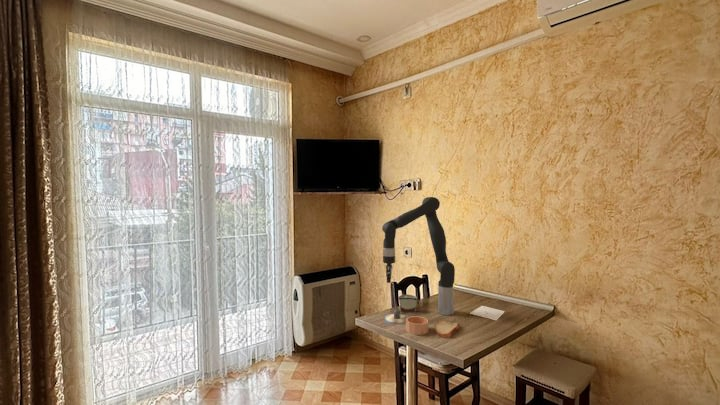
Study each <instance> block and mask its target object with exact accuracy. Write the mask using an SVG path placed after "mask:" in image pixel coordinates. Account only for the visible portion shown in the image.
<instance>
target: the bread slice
mask: <svg viewBox="0 0 720 405" xmlns="http://www.w3.org/2000/svg"><path fill="white" fill-rule="evenodd" d="M459 329H460V324H459V322H452V321H451V322H450V321H448V320H442V321H440V322H438V323H437V324H436V325H435V329H434V330H435V334H436V335H437V336H438V337H439V338H441V339H450V338H451V337H452V336H454V335H455V334H456V333H457V332H458V331H459Z"/></svg>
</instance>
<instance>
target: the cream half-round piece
mask: <svg viewBox="0 0 720 405" xmlns="http://www.w3.org/2000/svg"><path fill="white" fill-rule="evenodd" d="M397 300H399V310H400V313H401V312H404V313H416V310H417V309H416V308H417V302H418V301H419V300H418V297H417V296H416V295H413V294H402V295H399V297H398V299H397Z"/></svg>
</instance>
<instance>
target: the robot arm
mask: <svg viewBox="0 0 720 405" xmlns="http://www.w3.org/2000/svg"><path fill="white" fill-rule="evenodd" d="M440 205H441V202H440V200H439V199H438V198H437V197H434V196H427V197H425V198H424V199H423V200H422V202H421V205H419V206H417V207H415V208H412V209H411V210H408V211H406V212H404V213H401V215H398V216H397V217H394V218H393V219H391V220H388V221H387V222H385V223H383V225H382V227H381V228H382V232H384V238H383V243H382V246H383V248H382V263H384V264H385V274H386V276H385V277H386V283H387V284H390V283H391V281H392V273H393V265H392V264H395V263H396V250H395V249H396V248H395V246H396V245H395V244H396V242H395V240H396V235H397V230H398V229H401V228H403V227H406V226H407V225H409V224H410V223H412V222H413V221H416V220H417V219H419V218H421V217H422V216H425V218H426V222H427V226H428V231H429V237H430V241H431V244H432V249H433V252H434V255H435V262H436V269H437V270H438V272H439V274H440V278H439V280H438V284H437V285H438V286H437V290H438V292H437V295H438V297H437V299H438V300H437V302H438V303H437V306H438V307H437V308H438V309H437V311H438V312H437V313H438V314H440V315H444V316H451V315H454V314H455V313H454V309H455V307H454V306H455V305H454V304H455V303H454V284H455V276H456V275H455V274H456V268H455V265H454V264H453V263H452V262H450V261H449V259H448V258H449V257H448V254H447V250H446V249H447V237H446V233H445V229H444V227H443V226H442V223H441V222H440V220H439V218H438V215H437V210H438V209H439V208H440Z"/></svg>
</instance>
